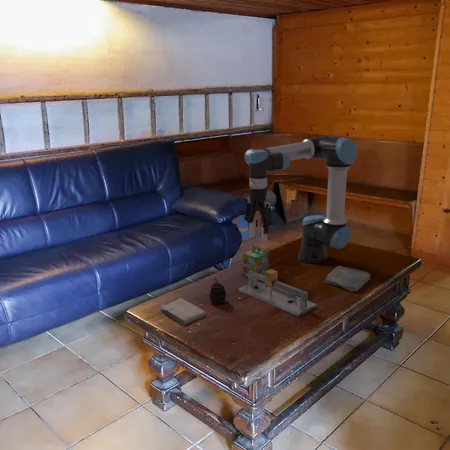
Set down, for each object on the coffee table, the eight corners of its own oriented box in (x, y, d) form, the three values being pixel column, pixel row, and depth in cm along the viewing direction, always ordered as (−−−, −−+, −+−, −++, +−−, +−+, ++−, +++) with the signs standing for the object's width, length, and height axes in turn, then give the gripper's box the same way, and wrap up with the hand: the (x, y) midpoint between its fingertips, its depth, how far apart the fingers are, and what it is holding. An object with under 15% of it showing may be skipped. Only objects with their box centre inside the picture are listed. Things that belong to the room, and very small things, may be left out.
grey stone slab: (319, 286, 219) (354, 293, 209) (319, 277, 218) (354, 284, 208) (338, 274, 235) (371, 280, 224) (338, 265, 233) (372, 271, 223)
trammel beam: (257, 283, 221) (257, 267, 219) (316, 306, 197) (317, 289, 195) (238, 290, 213) (238, 274, 211) (298, 316, 189) (298, 298, 187)
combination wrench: (265, 281, 214) (298, 295, 199) (267, 281, 215) (300, 294, 200) (265, 289, 215) (298, 303, 200) (267, 288, 216) (300, 302, 201)
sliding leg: (270, 290, 210) (271, 269, 206) (277, 292, 207) (277, 271, 204) (264, 293, 207) (265, 271, 204) (271, 295, 204) (271, 274, 201)
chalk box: (241, 275, 230) (241, 247, 226) (254, 270, 236) (254, 242, 232) (255, 280, 224) (256, 251, 219) (268, 275, 230) (268, 246, 225)
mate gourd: (213, 306, 199) (212, 285, 196) (206, 299, 206) (205, 278, 203) (228, 303, 202) (228, 281, 199) (221, 296, 208) (221, 275, 205)
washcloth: (180, 302, 204) (180, 295, 204) (207, 316, 192) (207, 309, 191) (158, 311, 197) (157, 304, 196) (184, 326, 184) (184, 319, 183)
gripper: (235, 185, 203) (236, 235, 210) (269, 192, 189) (269, 246, 196) (247, 182, 208) (247, 231, 215) (281, 189, 194) (280, 241, 201)
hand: (257, 238), depth 206 cm, fingers open, 7 cm apart
